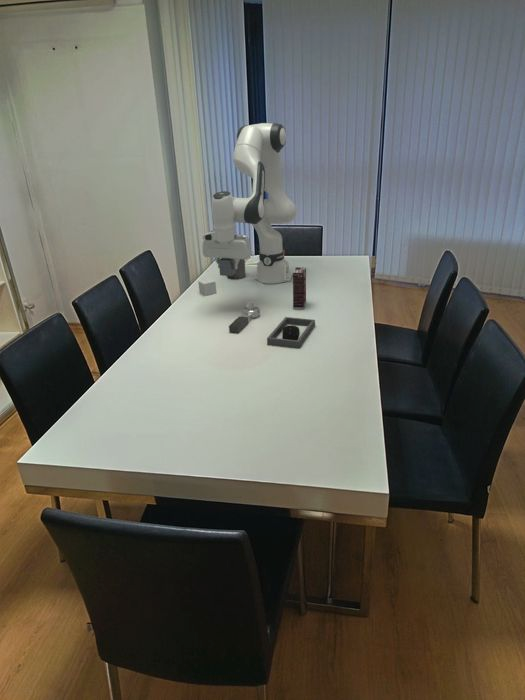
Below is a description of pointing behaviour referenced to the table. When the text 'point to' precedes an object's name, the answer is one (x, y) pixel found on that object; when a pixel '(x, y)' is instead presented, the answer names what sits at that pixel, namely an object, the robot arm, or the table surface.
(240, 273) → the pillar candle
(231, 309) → the table surface
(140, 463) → the table surface
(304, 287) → the supplement box
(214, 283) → the light grey cube
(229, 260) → the blue gray block
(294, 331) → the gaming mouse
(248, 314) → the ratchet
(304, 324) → the gray rectangular frame
